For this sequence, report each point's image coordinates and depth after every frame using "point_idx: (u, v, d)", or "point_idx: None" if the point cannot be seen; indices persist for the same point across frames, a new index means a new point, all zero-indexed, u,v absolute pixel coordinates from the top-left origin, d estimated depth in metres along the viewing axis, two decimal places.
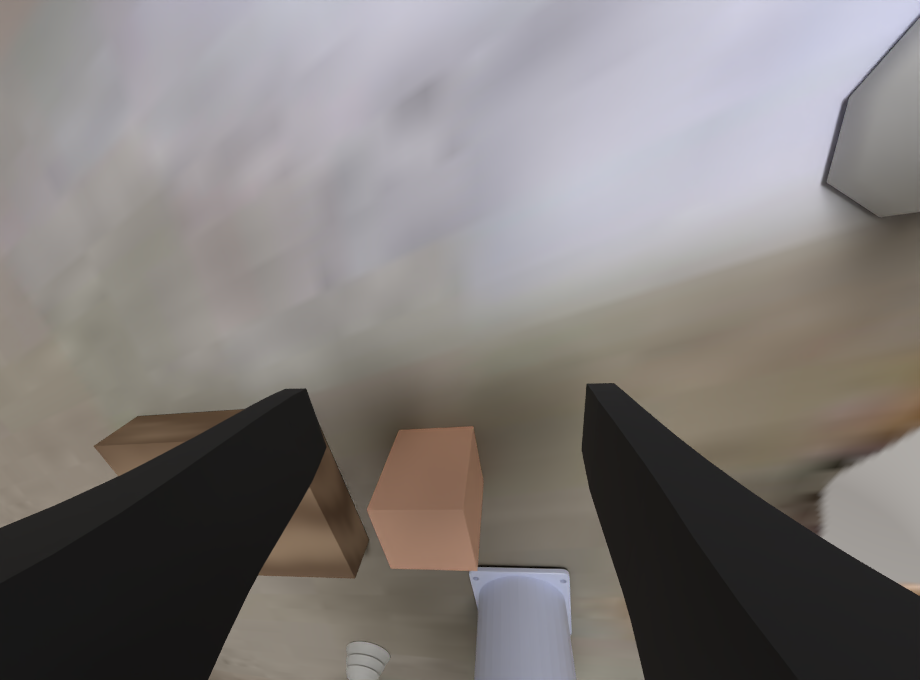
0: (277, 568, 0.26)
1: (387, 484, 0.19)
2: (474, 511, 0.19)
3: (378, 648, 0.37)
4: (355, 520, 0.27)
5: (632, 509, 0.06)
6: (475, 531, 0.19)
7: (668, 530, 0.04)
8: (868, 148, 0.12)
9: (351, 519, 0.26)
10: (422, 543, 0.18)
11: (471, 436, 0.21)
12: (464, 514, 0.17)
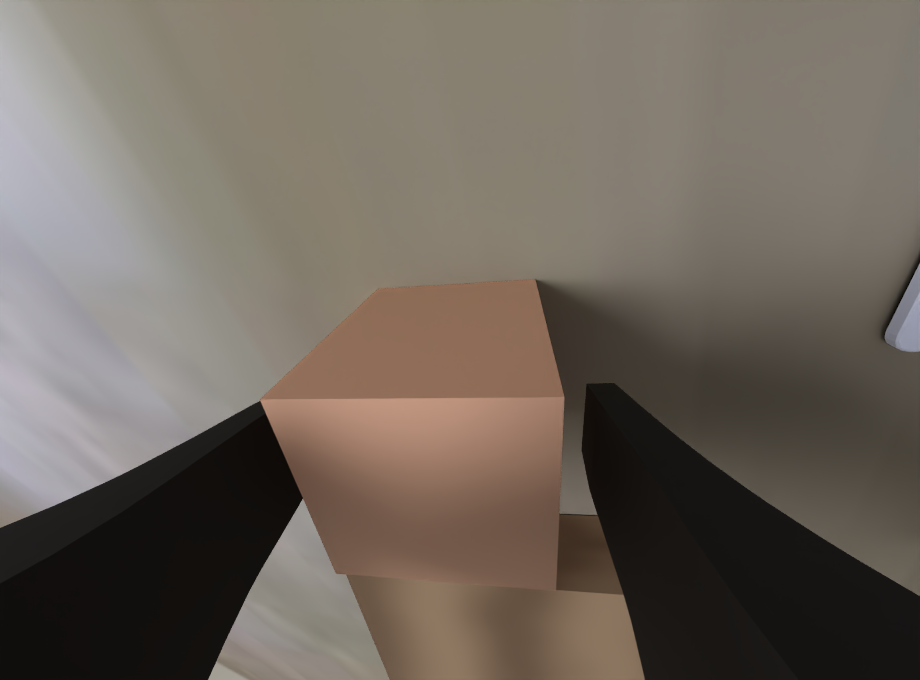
0: None
1: None
2: (440, 341, 0.07)
3: None
4: None
5: (632, 509, 0.06)
6: (473, 356, 0.06)
7: (668, 530, 0.04)
8: None
9: None
10: (433, 510, 0.07)
11: (369, 299, 0.10)
12: (288, 396, 0.06)
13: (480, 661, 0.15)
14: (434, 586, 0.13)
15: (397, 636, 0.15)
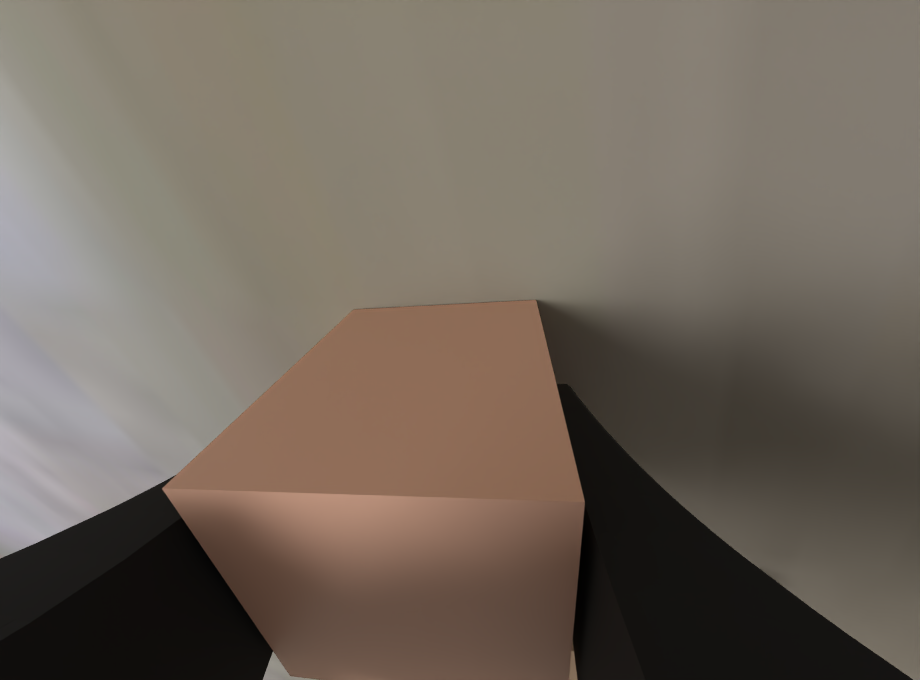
0: None
1: None
2: (418, 391, 0.06)
3: None
4: None
5: None
6: (457, 419, 0.05)
7: (583, 526, 0.04)
8: None
9: None
10: (406, 620, 0.05)
11: (341, 324, 0.09)
12: (201, 484, 0.04)
13: None
14: None
15: None
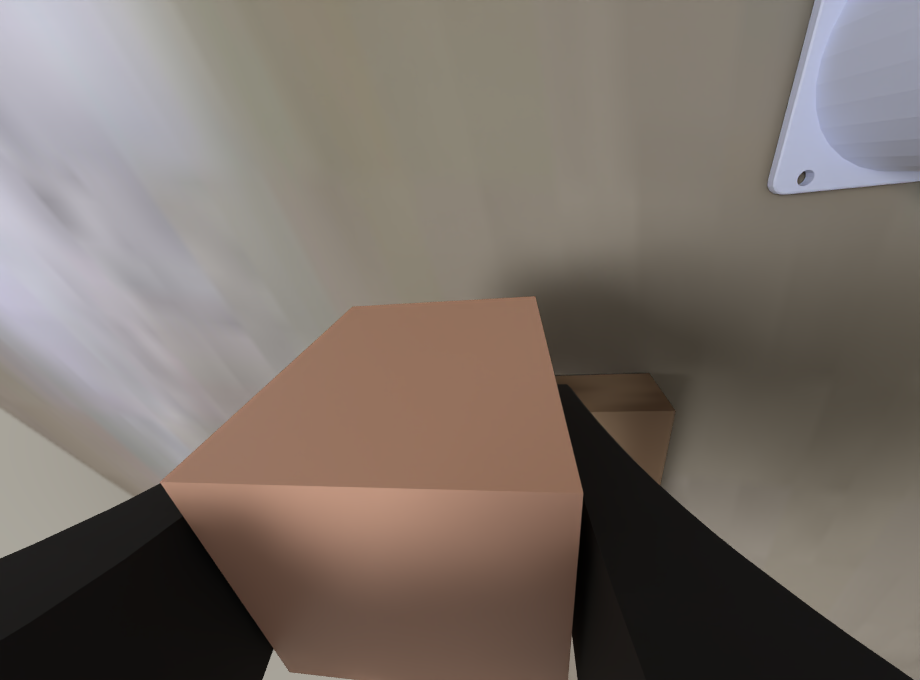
0: None
1: None
2: (416, 386, 0.06)
3: None
4: (585, 379, 0.17)
5: None
6: (456, 413, 0.05)
7: (584, 526, 0.04)
8: None
9: (574, 384, 0.17)
10: (406, 614, 0.05)
11: (340, 321, 0.09)
12: (199, 478, 0.04)
13: None
14: None
15: None
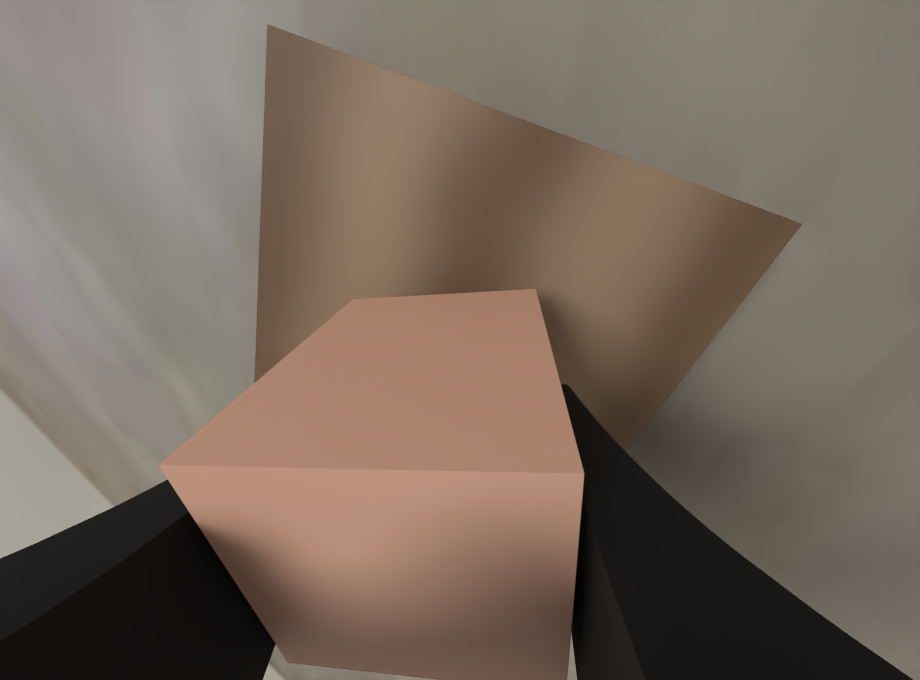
0: (632, 396, 0.11)
1: None
2: (416, 374, 0.06)
3: None
4: None
5: None
6: (456, 398, 0.05)
7: (583, 526, 0.04)
8: None
9: None
10: (405, 601, 0.05)
11: (340, 313, 0.09)
12: (198, 461, 0.04)
13: None
14: (404, 94, 0.08)
15: (301, 231, 0.10)
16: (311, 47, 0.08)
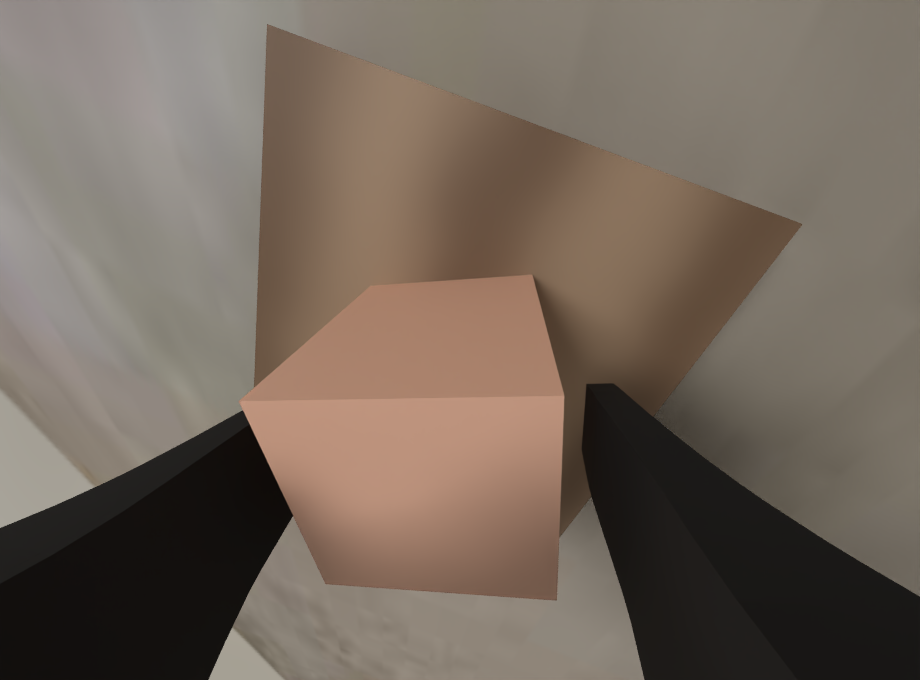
0: (633, 396, 0.11)
1: None
2: (433, 338, 0.07)
3: None
4: None
5: (632, 509, 0.06)
6: (467, 354, 0.06)
7: (668, 530, 0.04)
8: None
9: None
10: (426, 517, 0.06)
11: (361, 296, 0.10)
12: (269, 398, 0.05)
13: None
14: (403, 94, 0.08)
15: (301, 231, 0.10)
16: (311, 47, 0.08)
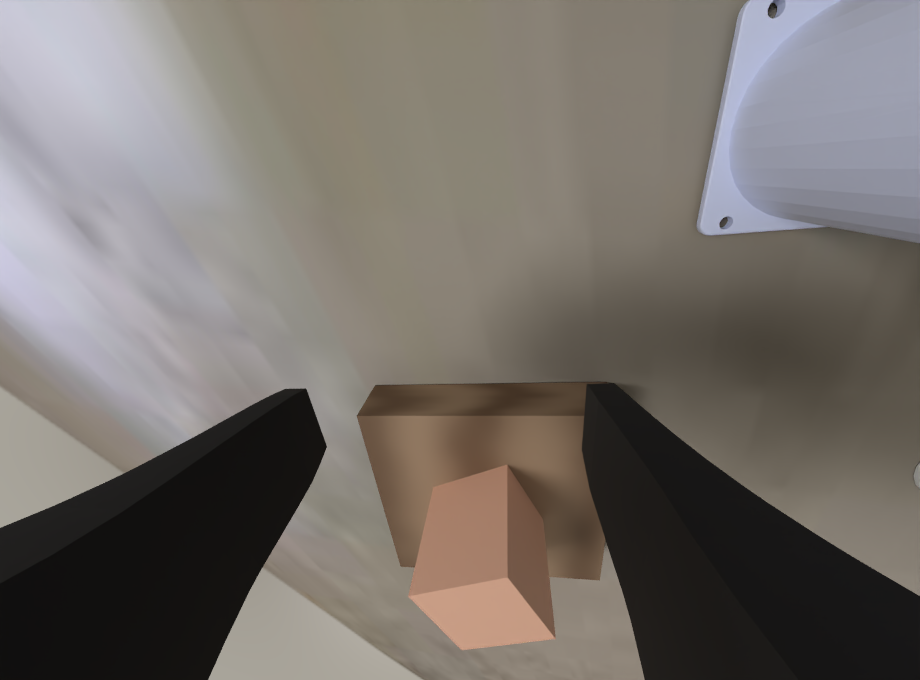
0: (592, 500, 0.20)
1: None
2: (465, 541, 0.16)
3: None
4: (551, 387, 0.20)
5: (632, 509, 0.06)
6: (478, 553, 0.16)
7: (668, 530, 0.04)
8: None
9: (540, 391, 0.19)
10: (486, 618, 0.16)
11: (431, 500, 0.20)
12: (417, 592, 0.15)
13: None
14: (418, 421, 0.19)
15: (393, 475, 0.21)
16: (375, 417, 0.19)
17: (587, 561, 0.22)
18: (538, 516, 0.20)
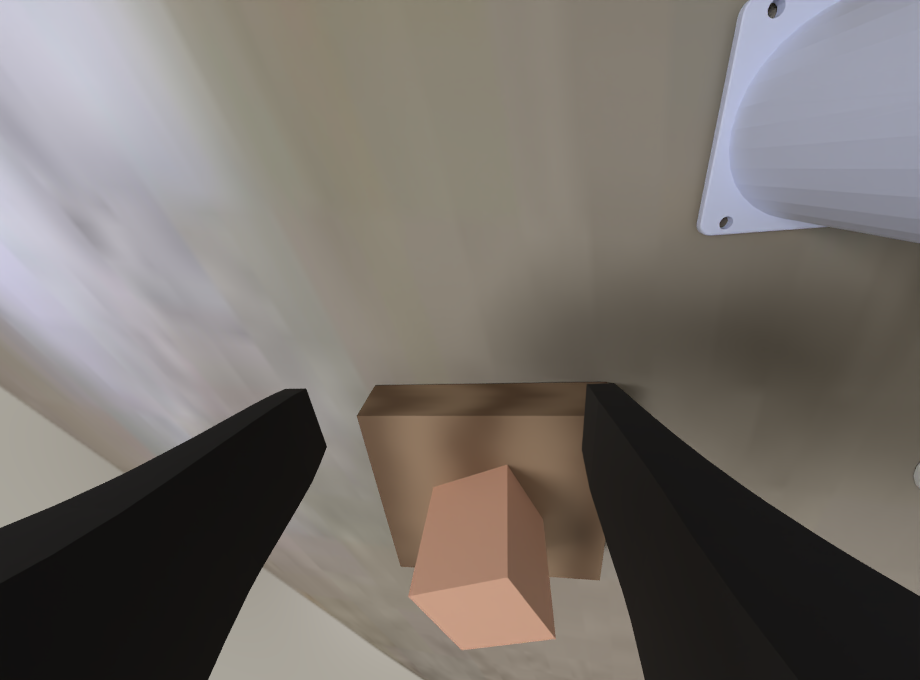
0: (592, 500, 0.20)
1: None
2: (466, 541, 0.16)
3: None
4: (551, 387, 0.20)
5: (632, 510, 0.06)
6: (478, 553, 0.16)
7: (668, 530, 0.04)
8: None
9: (540, 391, 0.19)
10: (486, 618, 0.16)
11: (431, 500, 0.20)
12: (417, 592, 0.15)
13: None
14: (418, 421, 0.19)
15: (393, 475, 0.21)
16: (375, 417, 0.19)
17: (587, 561, 0.22)
18: (538, 516, 0.20)
